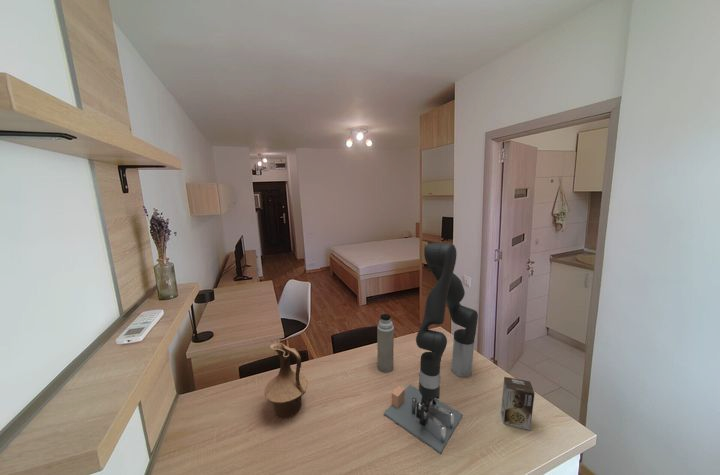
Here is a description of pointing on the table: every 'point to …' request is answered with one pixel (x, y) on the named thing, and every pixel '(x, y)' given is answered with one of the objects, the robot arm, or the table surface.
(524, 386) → the coffee box
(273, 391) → the pitcher
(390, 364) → the thermos bottle
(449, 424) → the bar
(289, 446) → the table surface
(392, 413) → the slate board
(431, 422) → the jaw
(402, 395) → the block
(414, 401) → the post
